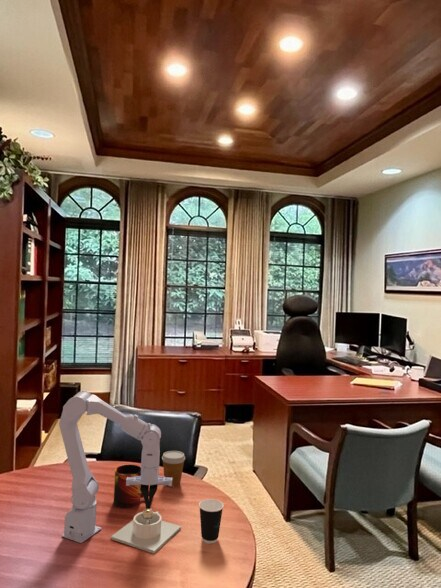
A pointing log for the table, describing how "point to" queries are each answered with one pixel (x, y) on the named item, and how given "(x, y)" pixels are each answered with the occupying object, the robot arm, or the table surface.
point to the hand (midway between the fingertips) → (148, 507)
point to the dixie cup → (210, 519)
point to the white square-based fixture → (146, 533)
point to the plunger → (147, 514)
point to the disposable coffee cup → (173, 466)
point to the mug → (127, 487)
